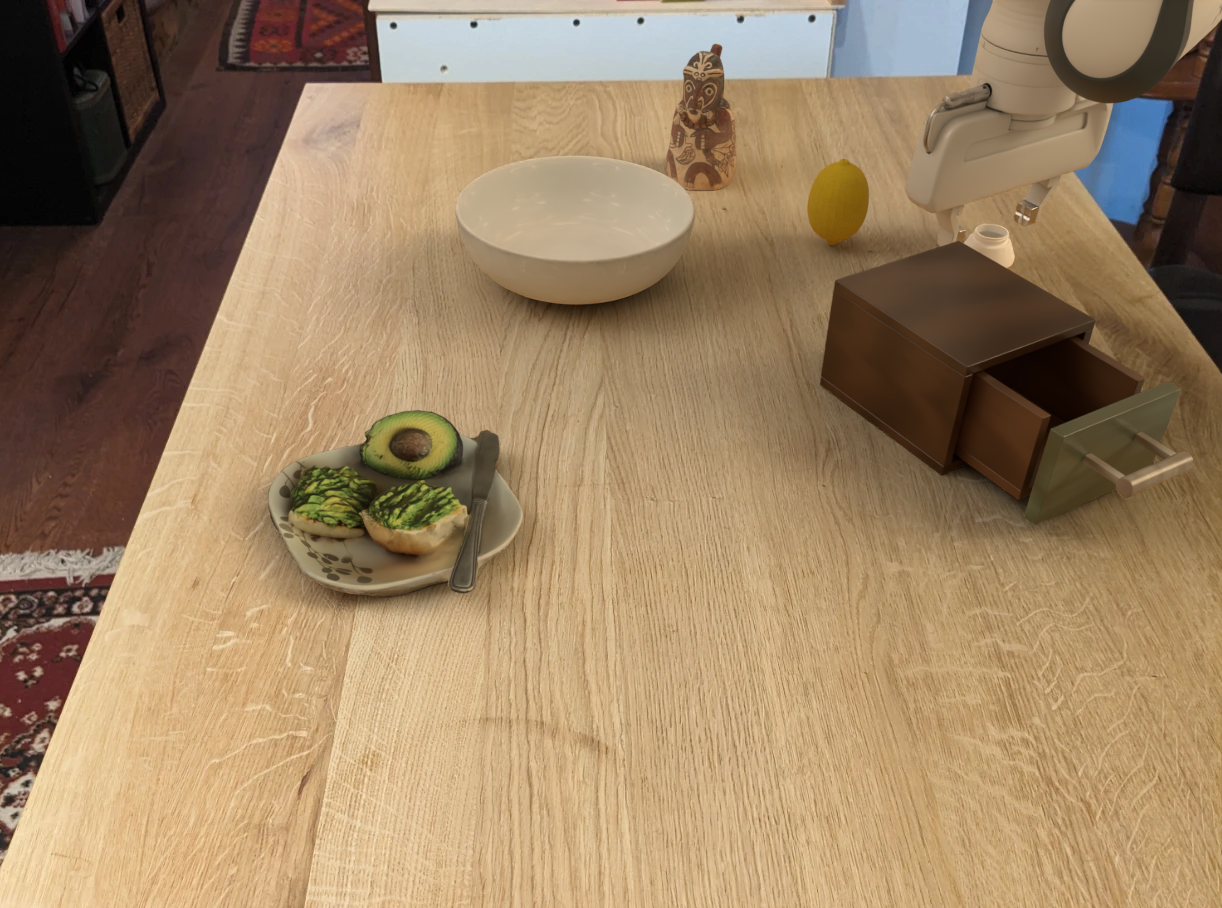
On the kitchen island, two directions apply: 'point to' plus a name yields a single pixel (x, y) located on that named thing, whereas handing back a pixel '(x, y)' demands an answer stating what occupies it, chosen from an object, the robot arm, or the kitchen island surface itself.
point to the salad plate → (397, 508)
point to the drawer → (1068, 428)
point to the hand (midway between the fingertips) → (987, 234)
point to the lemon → (838, 201)
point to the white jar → (992, 243)
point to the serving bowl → (575, 227)
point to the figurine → (703, 127)
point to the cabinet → (933, 341)
